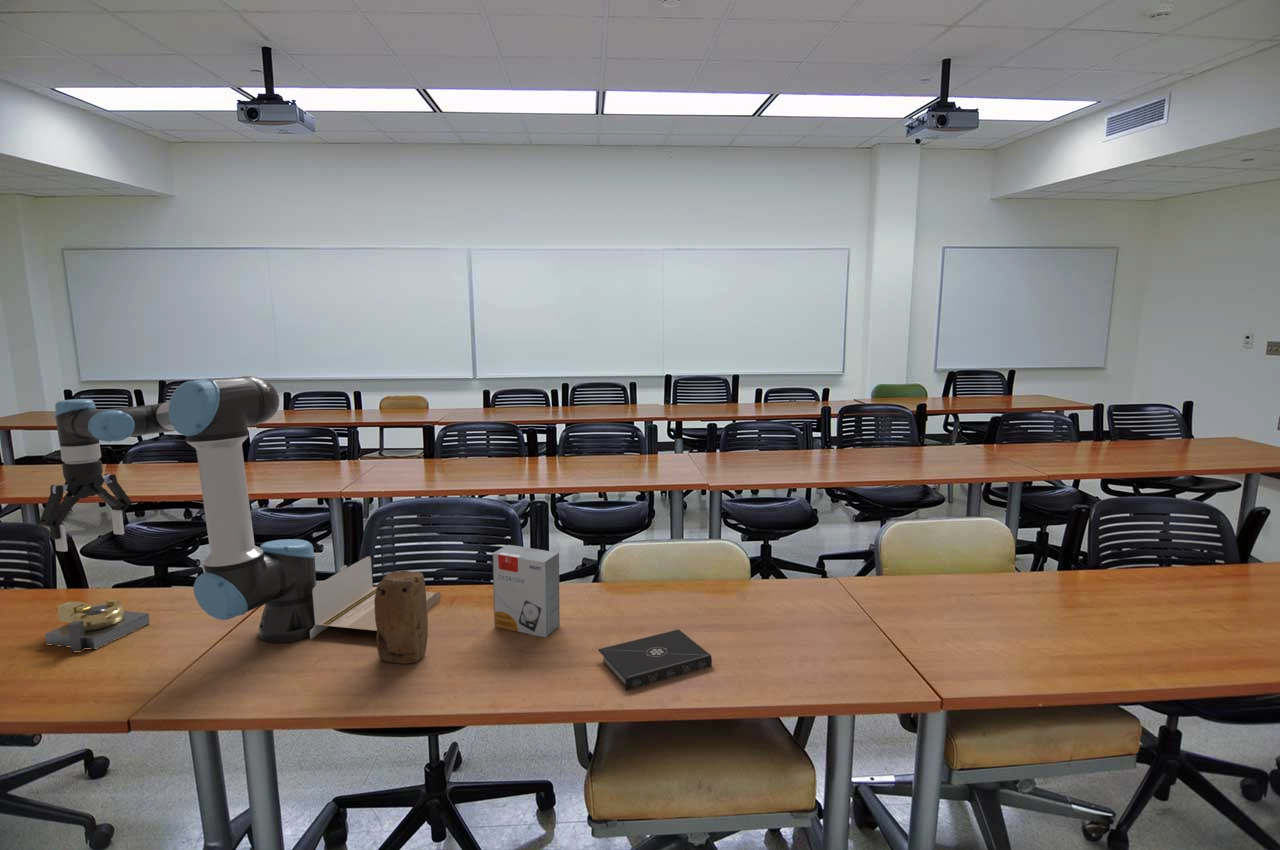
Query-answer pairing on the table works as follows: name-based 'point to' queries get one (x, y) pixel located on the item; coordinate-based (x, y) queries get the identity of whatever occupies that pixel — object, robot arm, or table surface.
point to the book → (655, 658)
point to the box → (350, 599)
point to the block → (401, 617)
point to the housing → (95, 632)
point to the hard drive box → (526, 590)
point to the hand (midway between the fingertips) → (91, 542)
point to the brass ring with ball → (92, 613)
